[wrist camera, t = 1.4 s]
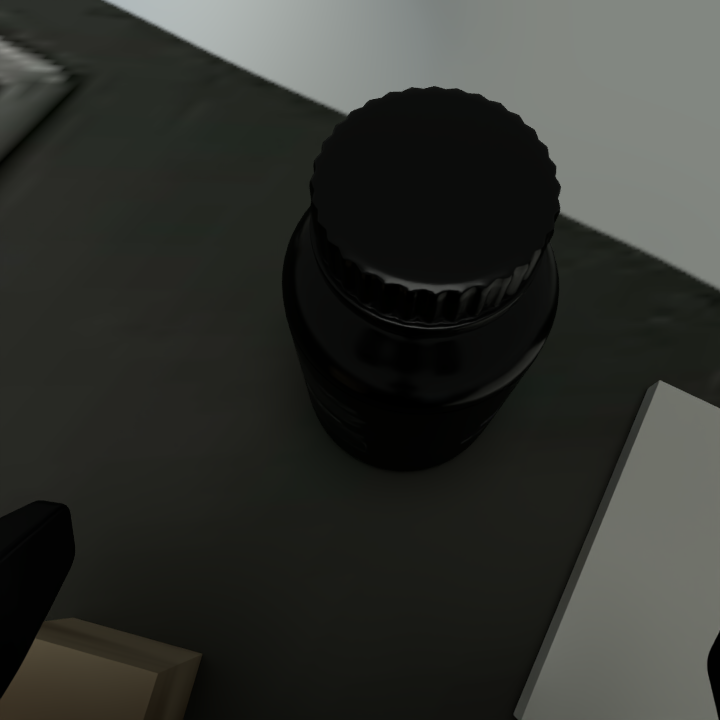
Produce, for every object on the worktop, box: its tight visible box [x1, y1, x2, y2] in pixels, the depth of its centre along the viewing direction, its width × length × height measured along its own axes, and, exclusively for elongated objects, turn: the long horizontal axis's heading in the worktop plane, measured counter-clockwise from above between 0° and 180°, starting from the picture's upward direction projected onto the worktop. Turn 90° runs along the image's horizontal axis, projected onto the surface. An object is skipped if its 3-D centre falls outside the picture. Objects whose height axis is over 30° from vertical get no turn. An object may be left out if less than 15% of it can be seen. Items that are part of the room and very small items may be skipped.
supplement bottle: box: [282, 86, 561, 471], centre depth 17 cm, size 7×7×12 cm
